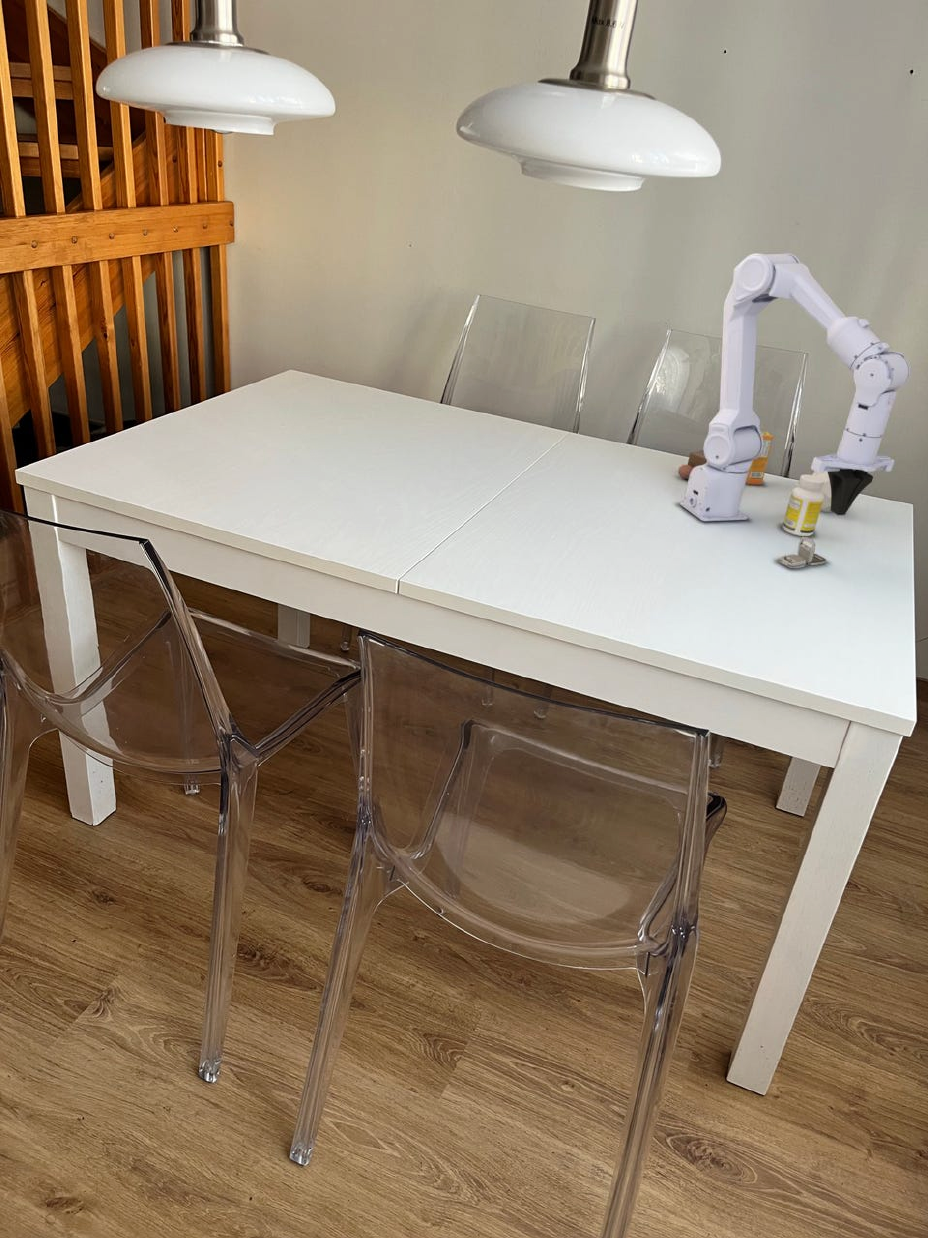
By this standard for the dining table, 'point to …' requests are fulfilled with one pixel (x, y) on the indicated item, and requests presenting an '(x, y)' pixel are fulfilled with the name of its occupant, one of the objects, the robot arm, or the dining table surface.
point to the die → (825, 491)
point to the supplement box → (760, 462)
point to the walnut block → (697, 459)
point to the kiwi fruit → (685, 471)
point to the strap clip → (802, 556)
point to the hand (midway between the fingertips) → (837, 512)
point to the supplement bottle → (804, 506)
